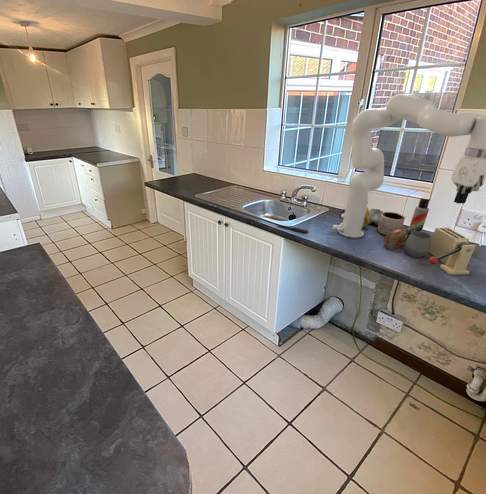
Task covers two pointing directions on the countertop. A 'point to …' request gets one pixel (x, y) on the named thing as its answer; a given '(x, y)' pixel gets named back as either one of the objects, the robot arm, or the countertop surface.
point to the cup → (418, 244)
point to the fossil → (375, 216)
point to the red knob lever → (446, 254)
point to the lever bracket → (459, 259)
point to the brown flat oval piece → (395, 238)
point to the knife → (295, 229)
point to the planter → (390, 222)
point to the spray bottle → (419, 216)
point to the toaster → (444, 242)
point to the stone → (366, 218)
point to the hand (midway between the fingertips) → (459, 202)
